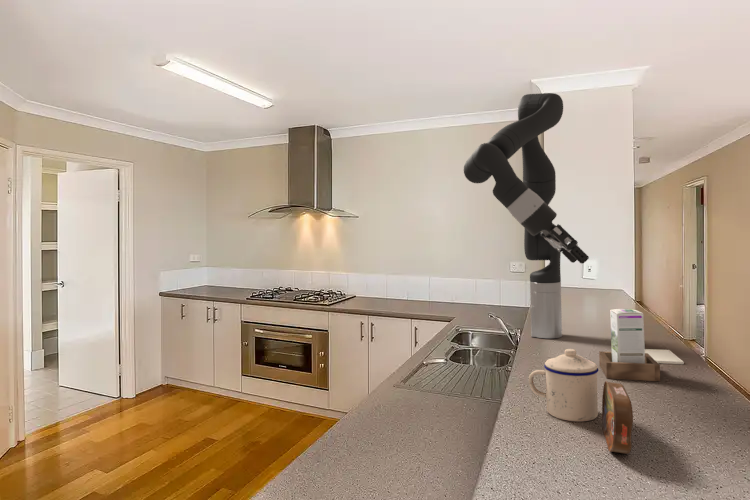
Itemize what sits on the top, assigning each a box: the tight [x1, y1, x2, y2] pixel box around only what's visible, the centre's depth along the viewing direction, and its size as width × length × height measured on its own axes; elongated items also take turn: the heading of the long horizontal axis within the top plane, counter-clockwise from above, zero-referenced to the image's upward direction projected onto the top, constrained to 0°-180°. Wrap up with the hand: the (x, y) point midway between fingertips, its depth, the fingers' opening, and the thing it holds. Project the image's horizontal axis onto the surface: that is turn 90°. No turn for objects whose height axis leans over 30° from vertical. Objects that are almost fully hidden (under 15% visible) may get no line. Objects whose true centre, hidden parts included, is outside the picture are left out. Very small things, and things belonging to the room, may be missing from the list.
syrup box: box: [609, 308, 646, 363], centre depth 108 cm, size 6×6×14 cm
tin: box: [601, 380, 634, 455], centre depth 74 cm, size 15×3×8 cm, turn 159°
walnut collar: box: [598, 350, 661, 382], centre depth 108 cm, size 10×10×4 cm
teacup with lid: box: [528, 348, 599, 423], centre depth 86 cm, size 12×9×12 cm
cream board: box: [645, 348, 685, 365], centre depth 121 cm, size 12×12×1 cm
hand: (580, 260), depth 110 cm, fingers open, 8 cm apart
